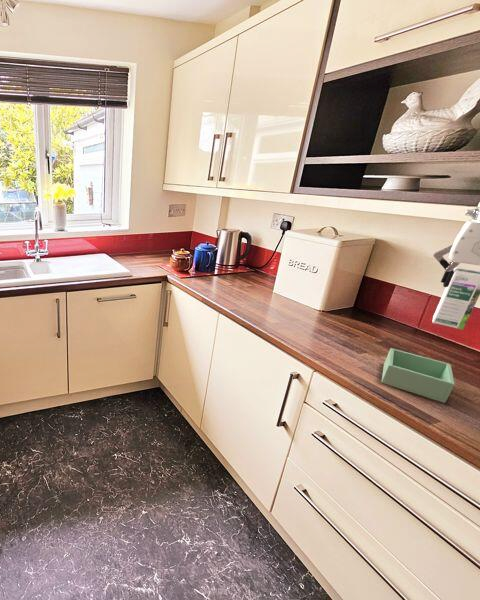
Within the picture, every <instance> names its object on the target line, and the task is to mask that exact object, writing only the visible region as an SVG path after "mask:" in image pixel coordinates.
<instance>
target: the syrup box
mask: <svg viewBox="0 0 480 600" xmlns="http://www.w3.org/2000/svg"><path fill="white" fill-rule="evenodd" d="M453 272H454V274H453V277H452V279H451V281H450V283H449V285H448V287H445V289H444V290H443V293H442V295H441V297H440V300H439V302H438V303H437V306H436V309H435V312H434V313H433V316H432V324H436V325H441V326H445V327H450V328H454V329H457V330H461V331H462V330H464V328H465V326H466V324H467V323H468V320H469V318H470V316H471V314H472V312H473V310H474V307H475V306H476V303H477V301H478V299H479V298H480V271H479V270H473V269H467V268H460V267H455V268H454V271H453Z"/></svg>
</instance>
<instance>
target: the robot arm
mask: <svg viewBox="0 0 480 600" xmlns="http://www.w3.org/2000/svg"><path fill="white" fill-rule="evenodd" d="M464 216H468V217H470V218H471V219H468V220H466V221H465V223H464V224H463V226H462V227H461V229H460V230H459V232H458V233H457V235H456V237H455V239H454V241H453V243H452V244H451V245H449V246H447V247H445V248H443V249H440V250H438V251H436V252H433V254H432V255H433V257H434V258H435V260H436V261H437V262H438V263H439V264H440V265H441V267H442V268H443V269H444V273H443V275H442V278H441V280H440V283H442V285H443V288H446V287H448V285H449V283H450V281H451V279H452V277H453V274H454V272H453V271H454V269H455V268H458V266H459V265H460V264H465V265H473V266H480V201H479V203H478V205H477V206H476V207H475V208H474V209H467V210H466V211H465V213H464ZM445 255H448V259H449V261H450V262H449V261H448V260H447V259H446V258H445V257H444V256H445Z"/></svg>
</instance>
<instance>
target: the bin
mask: <svg viewBox="0 0 480 600" xmlns="http://www.w3.org/2000/svg"><path fill="white" fill-rule="evenodd" d="M453 373H454V372H453V369H452V364H451V363H449V362H446V361H440V360H437V359H434V358H430V357H426V356H423V355H419V354H416V353H415V354H414V353H412V352H408V351H403V350H401V349H397V348H392V347H390V349H389V351H388V353H387V356H386V358H385V361H384V363H383V368H382V376H381V383H382V384H384V385H386V386H387V385H388V386H391V387H393V388H397V389H400V390H404V391H406V392H410V393H413V394H415V395H419V396H421V397H425V398H428V399H430V400H434V401H438V402H440V403H444V404H446V402H447V400H448V398H449V396H450V394H451V393H452V391H453V390H454V387H455V379H454V374H453Z"/></svg>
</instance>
